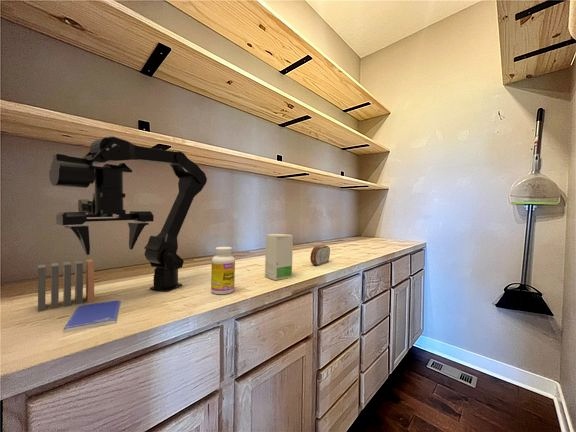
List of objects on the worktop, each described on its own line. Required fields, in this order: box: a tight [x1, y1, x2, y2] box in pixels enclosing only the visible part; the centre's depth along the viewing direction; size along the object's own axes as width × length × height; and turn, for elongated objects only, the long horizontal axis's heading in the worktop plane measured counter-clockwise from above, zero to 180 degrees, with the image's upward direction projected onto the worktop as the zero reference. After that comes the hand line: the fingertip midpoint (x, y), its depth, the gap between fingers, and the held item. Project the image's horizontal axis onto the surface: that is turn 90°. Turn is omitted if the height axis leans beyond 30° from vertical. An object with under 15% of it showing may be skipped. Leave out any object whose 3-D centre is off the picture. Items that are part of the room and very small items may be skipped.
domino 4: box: [85, 259, 95, 303], centre depth 63 cm, size 1×4×10 cm, turn 46°
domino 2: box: [50, 262, 60, 310], centre depth 58 cm, size 1×4×10 cm, turn 46°
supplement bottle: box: [210, 246, 236, 295], centre depth 71 cm, size 7×7×13 cm
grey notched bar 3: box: [62, 261, 72, 307], centre depth 60 cm, size 1×4×10 cm, turn 45°
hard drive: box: [62, 300, 122, 334], centre depth 53 cm, size 2×8×12 cm
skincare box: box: [264, 233, 294, 281], centre depth 87 cm, size 8×7×16 cm
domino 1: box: [37, 264, 47, 313], centre depth 57 cm, size 1×4×10 cm, turn 46°
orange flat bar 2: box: [74, 260, 84, 305], centre depth 61 cm, size 1×4×10 cm, turn 45°
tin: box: [309, 244, 331, 266], centre depth 111 cm, size 15×3×8 cm, turn 144°
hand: (110, 251), depth 60 cm, fingers open, 9 cm apart
